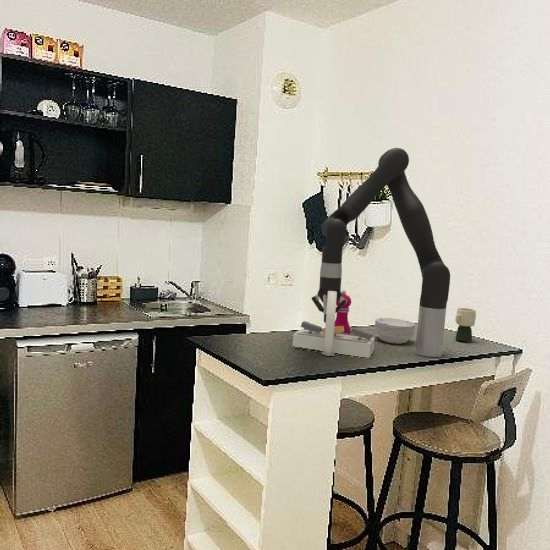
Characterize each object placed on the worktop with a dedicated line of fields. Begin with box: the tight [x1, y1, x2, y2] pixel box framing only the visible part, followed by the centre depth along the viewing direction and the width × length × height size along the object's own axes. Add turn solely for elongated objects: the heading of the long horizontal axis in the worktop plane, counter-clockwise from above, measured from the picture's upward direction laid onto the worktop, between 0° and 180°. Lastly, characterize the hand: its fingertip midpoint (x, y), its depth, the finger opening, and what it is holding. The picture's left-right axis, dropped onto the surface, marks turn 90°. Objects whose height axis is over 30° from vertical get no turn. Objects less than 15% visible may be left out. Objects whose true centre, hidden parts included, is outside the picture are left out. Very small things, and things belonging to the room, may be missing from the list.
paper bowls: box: [374, 317, 416, 345], centre depth 217 cm, size 15×15×8 cm
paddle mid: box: [322, 326, 344, 334], centre depth 197 cm, size 7×3×2 cm, turn 71°
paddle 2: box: [350, 326, 373, 340], centre depth 194 cm, size 7×3×2 cm, turn 72°
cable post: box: [321, 291, 337, 357], centre depth 189 cm, size 4×4×22 cm
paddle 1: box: [300, 320, 323, 333], centre depth 200 cm, size 7×3×2 cm, turn 72°
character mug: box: [455, 307, 477, 342], centre depth 224 cm, size 11×7×13 cm, turn 119°
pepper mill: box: [334, 289, 352, 334], centre depth 208 cm, size 7×7×20 cm
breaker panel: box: [292, 328, 376, 359], centre depth 198 cm, size 27×11×6 cm, turn 72°
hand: (327, 324), depth 198 cm, fingers closed
